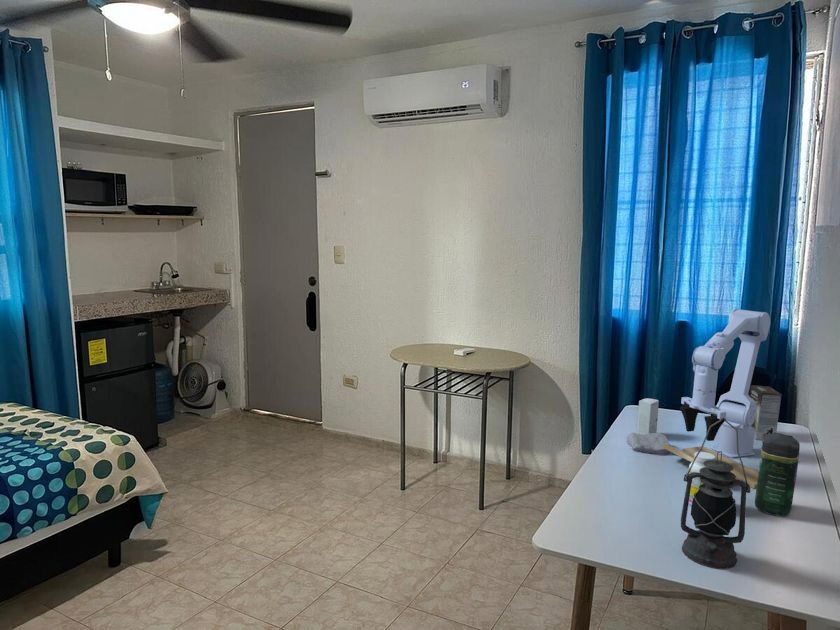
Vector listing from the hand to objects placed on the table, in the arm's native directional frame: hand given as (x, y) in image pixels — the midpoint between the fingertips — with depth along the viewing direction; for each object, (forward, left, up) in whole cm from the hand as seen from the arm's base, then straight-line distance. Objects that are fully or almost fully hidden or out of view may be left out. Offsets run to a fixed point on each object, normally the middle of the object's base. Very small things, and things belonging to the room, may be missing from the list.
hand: (699, 435), depth 170 cm
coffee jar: (0, +25, -10) cm, 27 cm away
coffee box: (-42, -16, -10) cm, 46 cm away
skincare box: (-4, -26, -10) cm, 28 cm away
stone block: (+3, -16, -10) cm, 20 cm away
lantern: (+32, +37, -10) cm, 50 cm away
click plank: (+1, +2, -8) cm, 8 cm away
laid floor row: (-9, +2, -10) cm, 14 cm away
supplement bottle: (+16, +18, -10) cm, 26 cm away
